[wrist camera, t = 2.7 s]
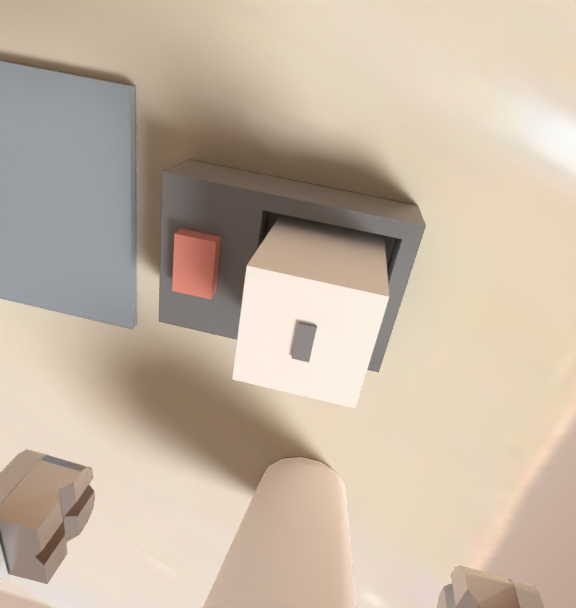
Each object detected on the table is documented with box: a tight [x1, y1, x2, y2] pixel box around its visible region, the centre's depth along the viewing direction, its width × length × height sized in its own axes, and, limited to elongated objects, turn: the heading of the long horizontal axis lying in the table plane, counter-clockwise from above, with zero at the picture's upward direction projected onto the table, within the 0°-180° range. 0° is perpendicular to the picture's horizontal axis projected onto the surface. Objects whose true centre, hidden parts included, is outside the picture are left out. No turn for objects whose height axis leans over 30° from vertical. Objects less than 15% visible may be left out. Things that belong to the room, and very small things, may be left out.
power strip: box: [159, 160, 426, 372], centre depth 23 cm, size 8×12×4 cm, turn 81°
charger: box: [232, 214, 389, 408], centre depth 20 cm, size 5×5×7 cm
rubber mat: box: [0, 60, 136, 329], centre depth 25 cm, size 14×12×1 cm
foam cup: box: [203, 457, 357, 608], centre depth 27 cm, size 10×9×13 cm
